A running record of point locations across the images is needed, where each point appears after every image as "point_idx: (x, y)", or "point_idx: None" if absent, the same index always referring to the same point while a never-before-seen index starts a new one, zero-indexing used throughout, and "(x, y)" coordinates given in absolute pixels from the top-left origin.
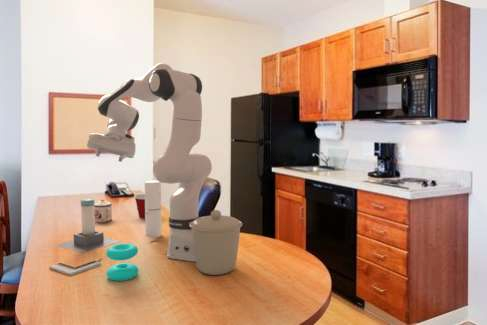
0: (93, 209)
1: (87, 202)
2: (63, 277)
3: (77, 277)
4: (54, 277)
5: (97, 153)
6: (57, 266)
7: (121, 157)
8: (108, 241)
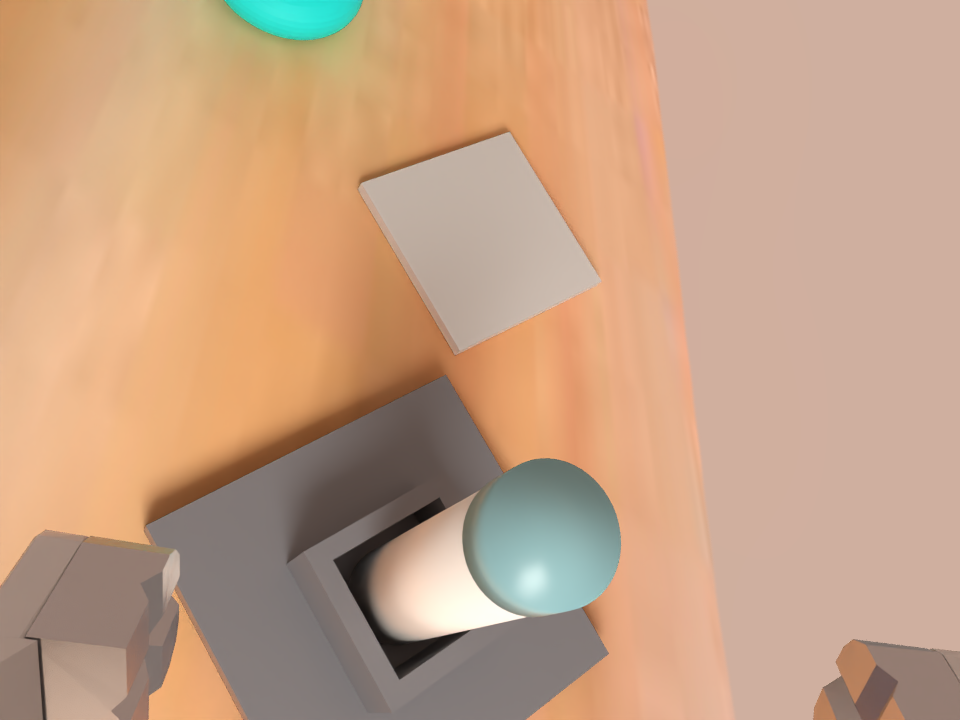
0: (457, 509)
1: (549, 463)
2: (531, 139)
3: (476, 102)
4: (566, 163)
5: (936, 654)
6: (567, 256)
7: (65, 584)
8: (248, 558)
